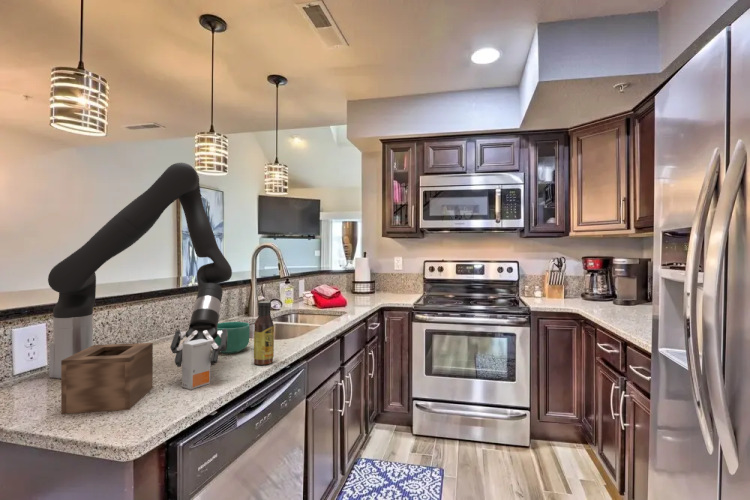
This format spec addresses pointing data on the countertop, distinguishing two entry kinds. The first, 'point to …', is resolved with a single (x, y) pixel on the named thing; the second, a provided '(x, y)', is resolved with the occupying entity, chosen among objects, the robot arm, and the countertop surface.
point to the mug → (234, 336)
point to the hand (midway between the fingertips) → (195, 364)
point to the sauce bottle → (264, 335)
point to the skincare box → (196, 363)
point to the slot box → (106, 377)
